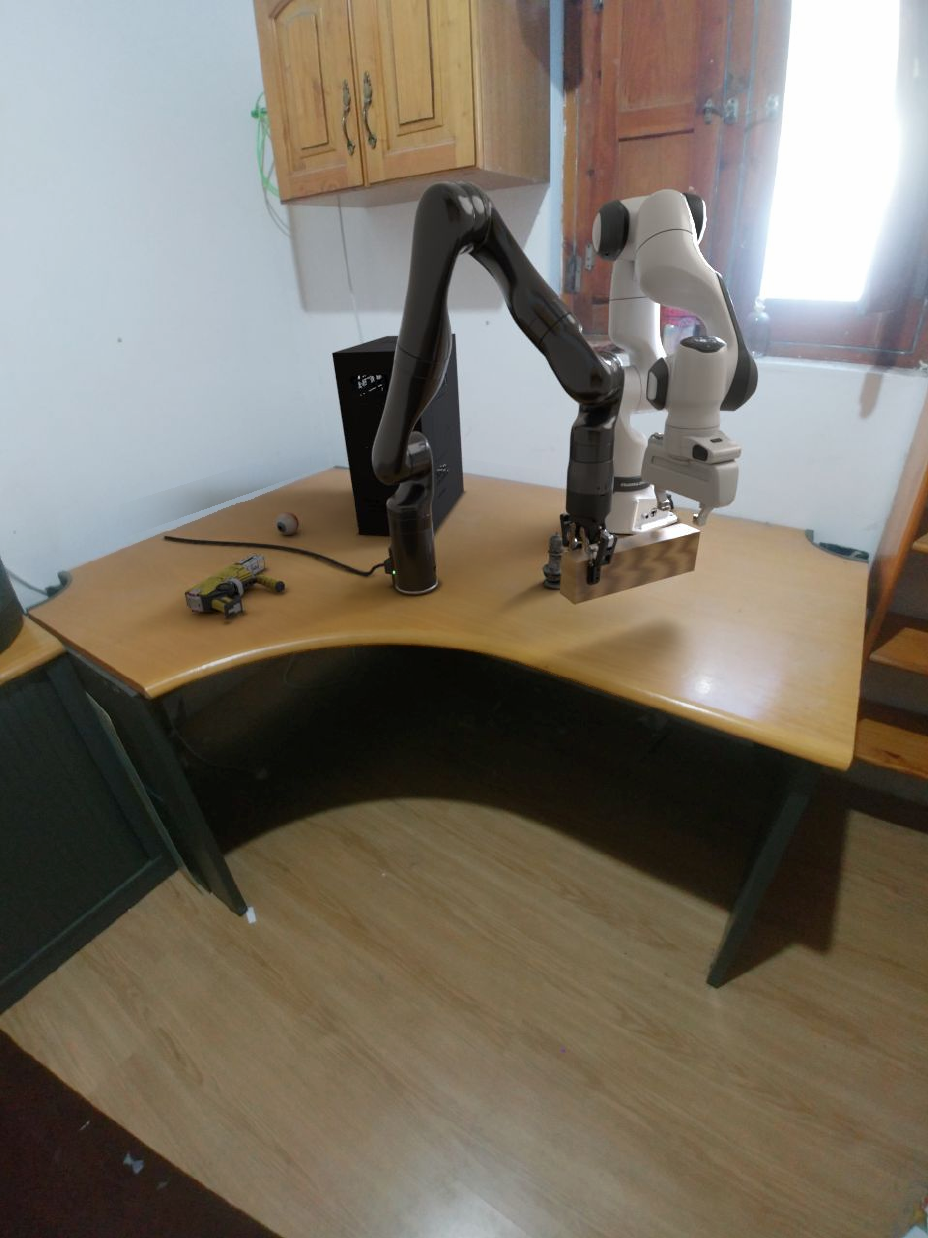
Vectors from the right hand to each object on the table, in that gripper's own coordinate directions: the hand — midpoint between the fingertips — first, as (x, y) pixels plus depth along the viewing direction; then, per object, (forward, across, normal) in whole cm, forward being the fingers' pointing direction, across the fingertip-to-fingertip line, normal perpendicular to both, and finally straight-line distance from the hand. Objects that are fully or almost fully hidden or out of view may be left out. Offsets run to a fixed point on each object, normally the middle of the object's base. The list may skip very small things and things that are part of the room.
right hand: (680, 517), depth 111 cm
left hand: (+7, 0, -20) cm, 22 cm away
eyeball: (+18, -82, -60) cm, 103 cm away
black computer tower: (+18, -80, -24) cm, 86 cm away
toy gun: (+19, -50, -75) cm, 92 cm away
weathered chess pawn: (+19, -20, -14) cm, 31 cm away
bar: (+11, 0, -10) cm, 15 cm away
